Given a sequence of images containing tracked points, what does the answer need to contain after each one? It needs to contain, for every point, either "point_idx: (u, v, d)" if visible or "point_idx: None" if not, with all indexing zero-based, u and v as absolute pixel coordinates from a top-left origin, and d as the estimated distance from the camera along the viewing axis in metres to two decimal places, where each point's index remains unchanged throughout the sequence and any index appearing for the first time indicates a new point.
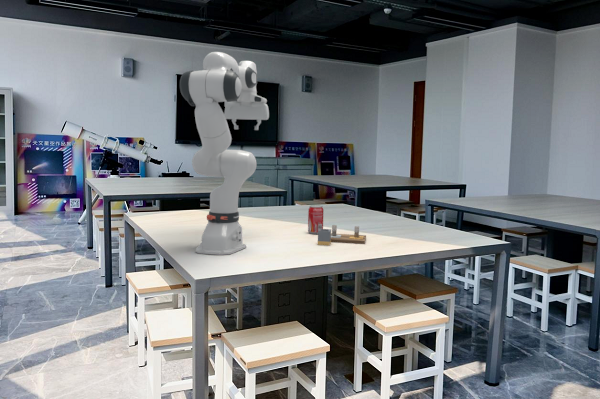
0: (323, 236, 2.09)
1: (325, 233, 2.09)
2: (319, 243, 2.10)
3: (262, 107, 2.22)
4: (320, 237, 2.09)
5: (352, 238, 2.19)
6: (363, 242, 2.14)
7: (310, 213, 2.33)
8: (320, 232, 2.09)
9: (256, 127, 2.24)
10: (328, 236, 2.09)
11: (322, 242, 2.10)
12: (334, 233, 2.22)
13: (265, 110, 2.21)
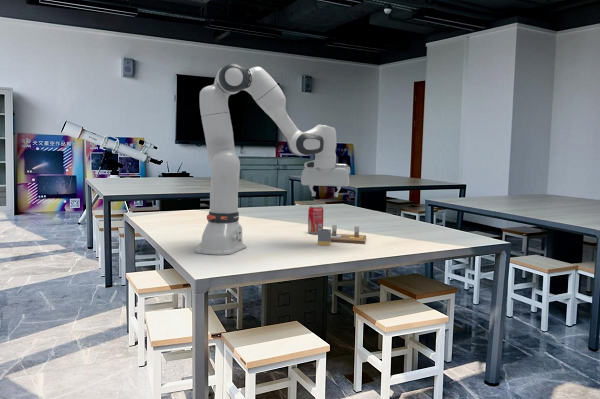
0: (323, 236, 2.09)
1: (325, 233, 2.09)
2: (319, 243, 2.10)
3: None
4: (320, 237, 2.09)
5: (352, 238, 2.19)
6: (363, 242, 2.14)
7: (310, 213, 2.33)
8: (320, 232, 2.09)
9: None
10: (328, 236, 2.09)
11: (322, 242, 2.10)
12: (334, 233, 2.22)
13: None
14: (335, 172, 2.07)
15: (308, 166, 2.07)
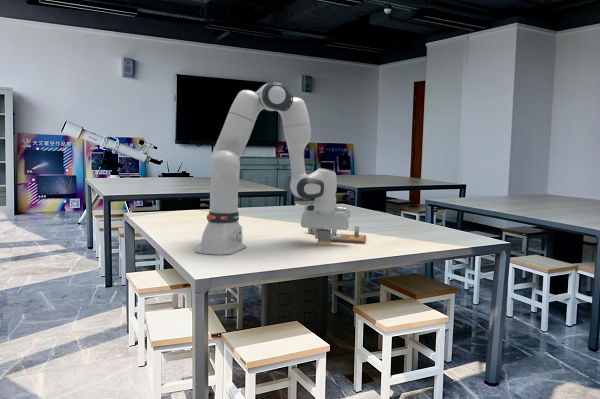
0: (323, 236, 2.09)
1: (325, 233, 2.09)
2: (319, 243, 2.10)
3: None
4: (320, 237, 2.09)
5: (352, 238, 2.19)
6: (363, 242, 2.14)
7: None
8: (320, 232, 2.09)
9: None
10: (328, 236, 2.09)
11: (322, 242, 2.10)
12: None
13: None
14: (335, 216, 2.08)
15: (308, 209, 2.08)
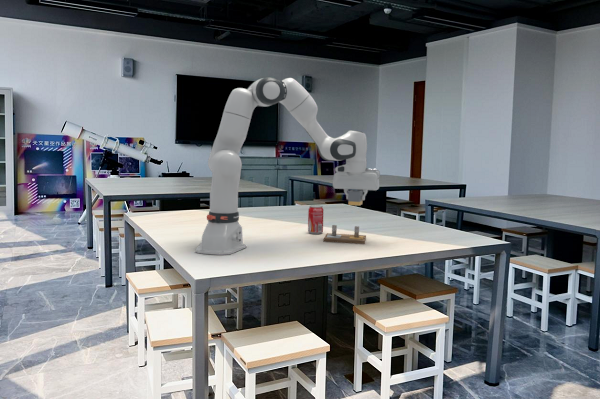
0: (353, 196, 2.16)
1: (355, 194, 2.15)
2: (350, 203, 2.17)
3: None
4: (351, 197, 2.16)
5: (352, 238, 2.19)
6: (363, 242, 2.14)
7: (310, 213, 2.33)
8: (350, 192, 2.16)
9: None
10: (358, 196, 2.15)
11: (353, 202, 2.16)
12: (334, 233, 2.22)
13: None
14: (365, 176, 2.14)
15: (339, 170, 2.16)
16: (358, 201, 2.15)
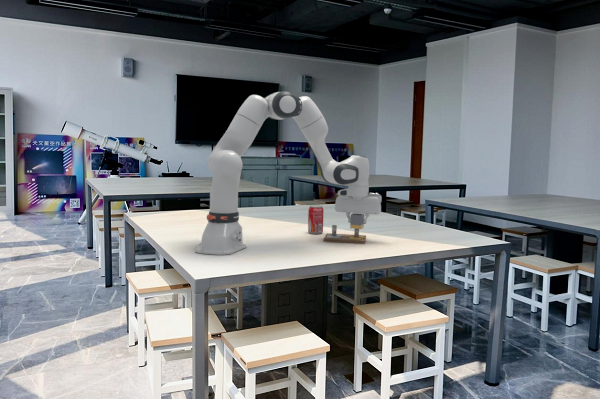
0: (355, 219, 2.19)
1: (357, 217, 2.18)
2: (351, 226, 2.19)
3: None
4: (352, 221, 2.19)
5: (352, 238, 2.19)
6: (363, 242, 2.14)
7: (310, 213, 2.33)
8: (352, 216, 2.19)
9: None
10: (360, 220, 2.18)
11: (354, 225, 2.19)
12: (334, 233, 2.22)
13: None
14: (367, 200, 2.17)
15: (341, 194, 2.19)
16: (360, 225, 2.18)
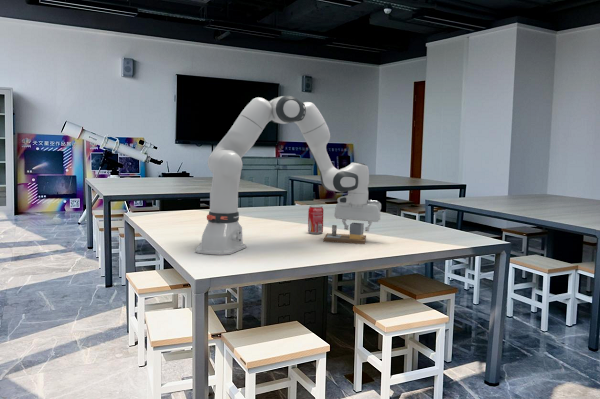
0: (354, 229, 2.19)
1: (356, 227, 2.19)
2: (351, 236, 2.20)
3: None
4: (352, 230, 2.19)
5: (352, 238, 2.19)
6: (363, 242, 2.14)
7: (310, 213, 2.33)
8: (352, 225, 2.19)
9: None
10: (359, 229, 2.18)
11: (354, 235, 2.19)
12: (334, 233, 2.22)
13: None
14: (366, 208, 2.17)
15: (341, 201, 2.19)
16: (359, 234, 2.18)
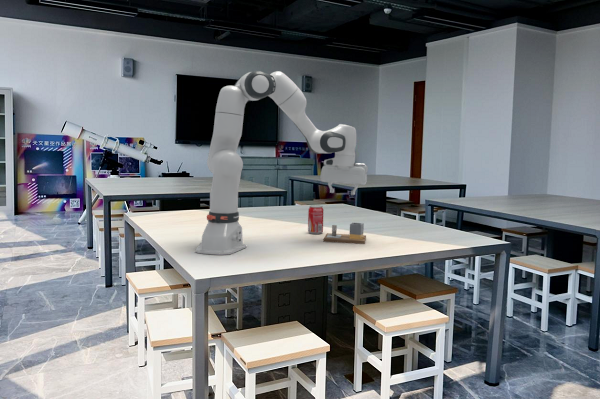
0: (354, 229, 2.19)
1: (356, 227, 2.19)
2: (351, 236, 2.20)
3: None
4: (352, 230, 2.19)
5: (352, 238, 2.19)
6: (363, 242, 2.14)
7: (310, 213, 2.33)
8: (352, 225, 2.19)
9: None
10: (359, 229, 2.18)
11: (354, 235, 2.19)
12: (334, 233, 2.22)
13: None
14: (353, 170, 2.14)
15: (327, 163, 2.16)
16: (359, 234, 2.18)
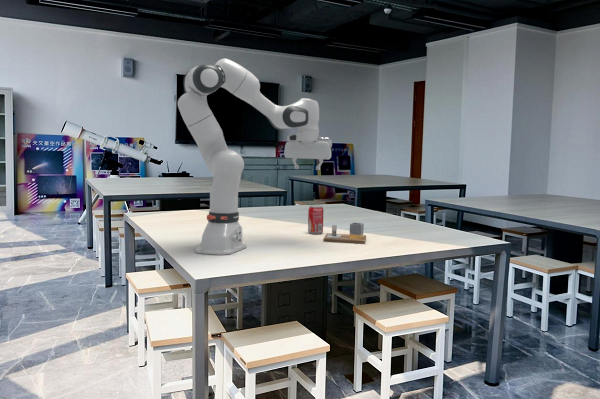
0: (354, 229, 2.19)
1: (356, 227, 2.19)
2: (351, 236, 2.20)
3: None
4: (352, 230, 2.19)
5: (352, 238, 2.19)
6: (363, 242, 2.14)
7: (310, 213, 2.33)
8: (352, 225, 2.19)
9: None
10: (359, 229, 2.18)
11: (354, 235, 2.19)
12: (334, 233, 2.22)
13: None
14: (317, 145, 2.11)
15: (291, 139, 2.12)
16: (359, 234, 2.18)
